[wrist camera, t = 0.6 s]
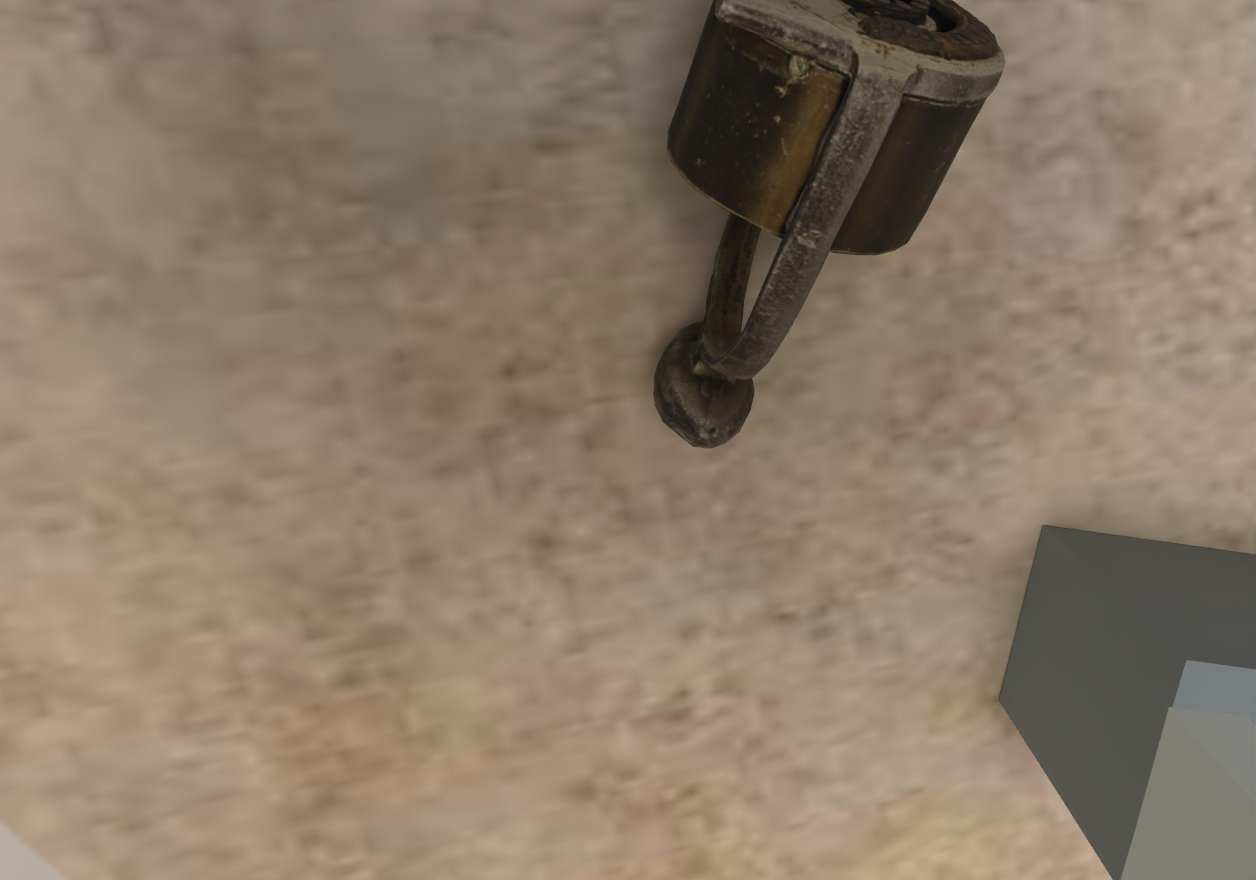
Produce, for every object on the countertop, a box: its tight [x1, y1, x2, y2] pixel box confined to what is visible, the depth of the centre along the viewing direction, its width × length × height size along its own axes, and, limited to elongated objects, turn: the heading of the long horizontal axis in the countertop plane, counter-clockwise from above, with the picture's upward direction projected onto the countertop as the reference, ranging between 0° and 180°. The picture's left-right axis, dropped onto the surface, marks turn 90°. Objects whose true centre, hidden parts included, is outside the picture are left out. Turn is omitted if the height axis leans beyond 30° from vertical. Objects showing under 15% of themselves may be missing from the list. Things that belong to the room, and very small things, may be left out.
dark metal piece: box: [653, 0, 1005, 448], centre depth 25 cm, size 7×13×10 cm, turn 178°
